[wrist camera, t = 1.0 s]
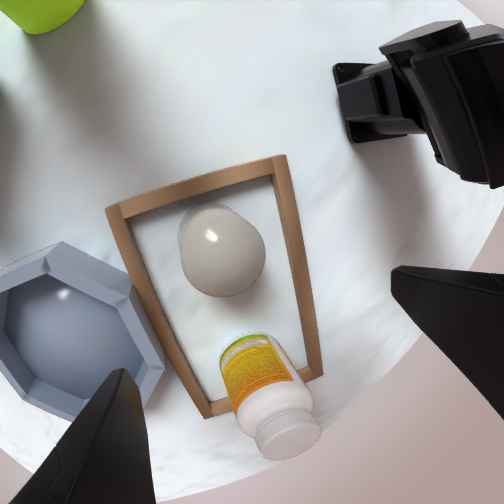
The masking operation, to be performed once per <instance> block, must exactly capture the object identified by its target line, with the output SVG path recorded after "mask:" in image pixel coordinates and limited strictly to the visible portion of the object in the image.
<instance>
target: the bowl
mask: <svg viewBox="0 0 504 504" xmlns="http://www.w3.org/2000/svg"><path fill="white" fill-rule="evenodd" d="M119 368H126V369H127V370H128V372H129V373H130V375H131V376H132V378H133V379H134V381H135V382H136V384H137V385H138V387H139V390H140V394H141V400H142V406H143V409H144V407H145V405H146V404H147V402H148V400H149V398H150V396H151V394H152V392H153V390H154V388H155V386H156V384H157V383H158V381H159V379H160V377H161V375H162V373H163V371H164V369H165V358H164V349H163V347H162V345H161V343H160V341H159V339H158V337H157V335H156V333H155V331H154V329H153V327H152V325H151V323H150V321H149V318H148V316H147V314H146V312H145V310H144V308H143V306H142V303H141V301H140V299H139V297H138V295H137V292H136V290H135V288H134V285H133V283H132V281H131V278H130V276H129V274H127V273H125V272H123V271H120V270H118V269H116V268H114V267H112V266H110V265H108V264H106V263H104V262H102V261H100V260H98V259H96V258H94V257H92V256H90V255H88V254H86V253H84V252H82V251H80V250H78V249H76V248H74V247H72V246H70V245H68V244H66V243H64V242H63V241H61V242H59V243H57V244H54V245H52V246H50V247H47V248H45V249H43V250H40V251H38V252H36V253H34V254H32V255H29V256H27V257H25V258H23V259H21V260H19V261H16V262H14V263H12V264H10V265H8V266H6V267H5V268H4V269H2V270H1V271H0V371H1V372H2V373H3V375H4V376H5V378H6V379H7V380H8V382H9V383H10V384H11V386H12V387H13V388H14V389H15V391H16V392H17V393H18V394H19V396H20V397H21V398H22V399H23V400H24V401H26V402H28V403H30V404H32V405H34V406H36V407H38V408H40V409H42V410H44V411H47V412H49V413H51V414H53V415H56V416H58V417H60V418H63V419H65V420H67V421H70V422H73V421H74V420H75V418H76V417H77V416H78V414H79V413H80V412H81V410H82V409H83V408H84V406H85V405H86V404H87V403H88V401H89V400H90V399H91V397H92V396H93V395H94V393H95V392H96V391H97V390H98V388H99V387H100V386H101V384H102V383H103V382H104V381H105V379H106V378H107V377H108V375H109V374H110V373H111V372H112V371H113V370H115V369H119Z"/></svg>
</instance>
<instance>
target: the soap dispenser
mask: <svg viewBox="0 0 504 504" xmlns="http://www.w3.org/2000/svg"><path fill="white" fill-rule="evenodd" d="M84 2H85V0H0V10H1V11H2V12H3V13H4V14H6V15H7V16H8V17H9V18H10V19H11V20H12V21H14V22H15V23H16V24H17V25H18V26H19V27H20V28H22V29H23V30H24V31H25V32H27V33H29V34H42V33H46V32H49V31H51V30H53V29H55V28H57V27H59V26H61V25H62V24H64V23H65V22H66V21H68V20H69V19H70V18H71V17H72V16H73V15H75V14H76V12H77V11H78V10H79V9H80V8H81V7H82V5H83V4H84Z"/></svg>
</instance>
